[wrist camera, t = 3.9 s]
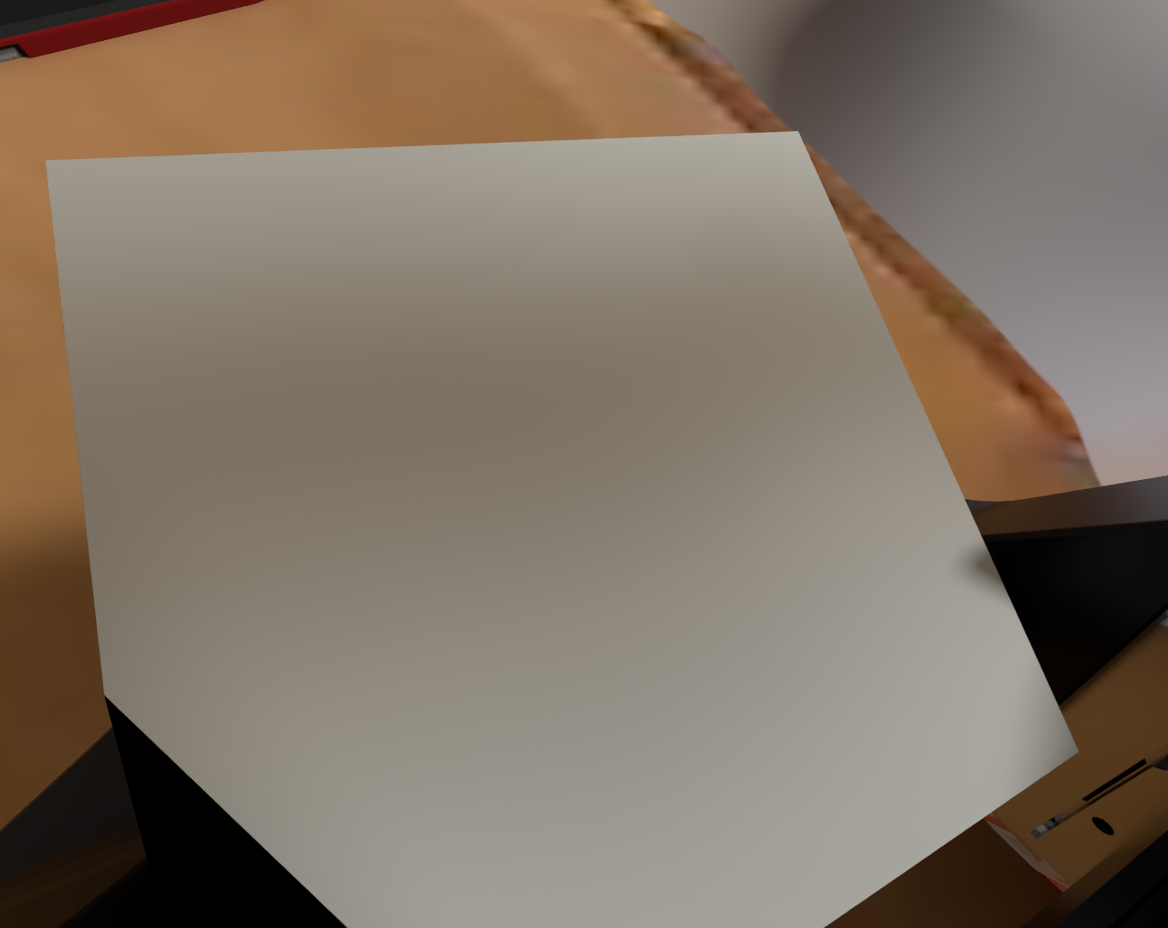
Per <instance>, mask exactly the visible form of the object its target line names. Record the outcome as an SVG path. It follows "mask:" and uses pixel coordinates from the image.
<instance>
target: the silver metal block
mask: <svg viewBox="0 0 1168 928" xmlns="http://www.w3.org/2000/svg"><path fill="white" fill-rule="evenodd" d="M46 167H47V176H48V186H49V195H50V204H51V213H52V222H53V231H54V240H55V249H56V259H57V268H58V277H59V286H60V295H61V304H62V313H63V322H64V331H65V341H66V350H67V359H68V368H69V377H70V386H71V395H72V404H73V414H74V423H75V432H76V441H77V450H78V459H79V468H80V477H81V487H82V496H83V505H84V514H85V523H86V532H87V541H88V550H89V560H90V569H91V578H92V587H93V596H94V605H95V614H96V623H97V633H98V642H99V651H100V660H101V669H102V678H103V687H104V696H105V699H106V703H107V707H108V711H109V715H110V719H111V722H112V726H113V730H114V734H115V738H116V742H117V746H118V749H119V753H120V757H121V761H122V765H123V769H124V772H125V776H126V780H127V784H128V788H129V792H130V796H131V799H132V803H133V807H134V811H135V815H136V819H137V822H138V826H139V830H140V834H141V838H142V842H143V846H144V849H145V853H146V857H147V861H148V865H149V869H150V872H151V876H152V880H153V884H154V888H155V892H156V896H157V899H158V903H159V907H160V911H161V915H162V919H163V922H164V926H165V928H824V927H826V926H827V925H828V924H830V923H831V922H833V921H834V920H836V919H837V918H839V917H840V916H842V915H843V914H844V913H846V912H847V911H849V910H850V909H852V908H853V907H855V906H856V905H857V904H859V903H860V902H862V901H863V900H865V899H866V898H868V897H869V896H871V895H872V894H873V893H875V892H876V891H878V890H879V889H881V888H882V887H884V886H885V885H887V884H888V883H889V882H891V881H892V880H894V879H895V878H897V877H898V876H900V875H901V874H902V873H904V872H905V871H907V870H908V869H910V868H911V867H913V866H914V865H916V864H917V863H918V862H920V861H921V860H923V859H924V858H926V857H927V856H929V855H930V854H931V853H933V852H934V851H936V850H937V849H939V848H940V847H942V846H943V845H945V844H946V843H947V842H949V841H950V840H952V839H953V838H955V837H956V836H958V835H959V834H960V833H962V832H963V831H965V830H966V829H968V828H969V827H971V826H972V825H974V824H975V823H976V822H978V821H979V820H981V819H982V818H984V817H985V816H987V815H988V814H989V813H991V812H992V811H994V810H995V809H997V808H998V807H1000V806H1001V805H1003V804H1004V803H1005V802H1007V801H1008V800H1010V799H1011V798H1013V797H1014V796H1016V795H1017V794H1019V793H1020V792H1021V791H1023V790H1024V789H1026V788H1027V787H1029V786H1030V785H1032V784H1033V783H1034V782H1036V781H1037V780H1039V779H1040V778H1042V777H1043V776H1045V775H1046V774H1048V773H1049V772H1050V771H1052V770H1053V769H1055V768H1056V767H1058V766H1059V765H1061V764H1062V763H1063V762H1065V761H1066V760H1068V759H1069V758H1071V757H1072V756H1074V755H1075V754H1077V753H1078V752H1079V751H1078V748H1077V746H1076V744H1075V742H1074V739H1073V737H1072V735H1071V733H1070V731H1069V728H1068V726H1067V724H1066V722H1065V720H1064V717H1063V715H1062V713H1061V711H1060V709H1059V706H1058V704H1057V702H1056V700H1055V698H1054V695H1053V693H1052V691H1051V689H1050V687H1049V684H1048V682H1047V680H1046V678H1045V675H1044V673H1043V671H1042V669H1041V667H1040V664H1039V662H1038V660H1037V658H1036V656H1035V653H1034V651H1033V649H1032V647H1031V645H1030V642H1029V640H1028V638H1027V636H1026V634H1025V631H1024V629H1023V627H1022V625H1021V622H1020V620H1019V618H1018V616H1017V614H1016V611H1015V609H1014V607H1013V605H1012V603H1011V600H1010V598H1009V596H1008V594H1007V592H1006V589H1005V587H1004V585H1003V583H1002V581H1001V578H1000V576H999V574H998V572H997V570H996V567H995V565H994V563H993V561H992V558H991V556H990V554H989V552H988V550H987V547H986V545H985V543H984V541H983V539H982V536H981V534H980V532H979V530H978V528H977V525H976V523H975V521H974V519H973V517H972V514H971V512H970V510H969V508H968V506H967V503H966V501H965V499H964V497H963V494H962V492H961V490H960V488H959V486H958V483H957V481H956V479H955V477H954V475H953V472H952V470H951V468H950V466H949V464H948V461H947V459H946V457H945V455H944V453H943V450H942V448H941V446H940V444H939V441H938V439H937V437H936V435H935V433H934V430H933V428H932V426H931V424H930V422H929V419H928V417H927V415H926V413H925V411H924V408H923V406H922V404H921V402H920V400H919V397H918V395H917V393H916V391H915V389H914V386H913V384H912V382H911V380H910V377H909V375H908V373H907V371H906V369H905V366H904V364H903V362H902V360H901V358H900V355H899V353H898V351H897V349H896V347H895V344H894V342H893V340H892V338H891V336H890V333H889V331H888V329H887V327H886V325H885V322H884V320H883V318H882V316H881V313H880V311H879V309H878V307H877V305H876V302H875V300H874V298H873V296H872V294H871V291H870V289H869V287H868V285H867V283H866V280H865V278H864V276H863V274H862V272H861V269H860V267H859V265H858V263H857V260H856V258H855V256H854V254H853V252H852V249H851V247H850V245H849V243H848V241H847V238H846V236H845V234H844V232H843V230H842V227H841V225H840V223H839V221H838V219H837V216H836V214H835V212H834V210H833V208H832V205H831V203H830V201H829V199H828V196H827V194H826V192H825V190H824V188H823V185H822V183H821V181H820V179H819V177H818V174H817V172H816V170H815V168H814V166H813V163H812V161H811V159H810V157H809V155H808V152H807V150H806V148H805V146H804V144H803V141H802V139H801V137H800V135H799V133H798V131H795V132H769V133H743V134H718V135H692V136H666V137H640V138H614V139H588V140H562V141H537V142H511V143H485V144H459V145H433V146H407V147H381V148H356V149H330V150H304V151H278V152H252V153H226V154H200V155H175V156H149V157H123V158H97V159H71V160H46Z"/></svg>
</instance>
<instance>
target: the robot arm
mask: <svg viewBox="0 0 1168 928" xmlns="http://www.w3.org/2000/svg"><path fill="white" fill-rule="evenodd" d="M965 501H966V503H967V506H968V508H969V510H970V512H971V514H972V517H973V519H974V521H975V523H976V525H977V528H978V530H979V532H980V534H981V536H982V539H983V541H984V543H985V545H986V547H987V550H988V552H989V554H990V556H991V558H992V561H993V563H994V565H995V567H996V570H997V572H998V574H999V576H1000V578H1001V581H1002V583H1003V585H1004V587H1005V589H1006V592H1007V594H1008V596H1009V598H1010V600H1011V603H1012V605H1013V607H1014V609H1015V611H1016V614H1017V616H1018V618H1019V620H1020V622H1021V625H1022V627H1023V629H1024V631H1025V634H1026V636H1027V638H1028V640H1029V642H1030V645H1031V647H1032V649H1033V651H1034V653H1035V656H1036V658H1037V660H1038V662H1039V664H1040V667H1041V669H1042V671H1043V673H1044V675H1045V678H1046V680H1047V682H1048V684H1049V687H1050V689H1051V691H1052V693H1053V695H1054V698H1055V700H1056V702H1057V704H1058V706H1059V709H1060V711H1061V713H1062V715H1063V717H1064V720H1065V722H1066V724H1067V726H1068V728H1069V731H1070V733H1071V735H1072V737H1073V739H1074V742H1075V744H1076V746H1077V748H1078V751H1079V752H1078V753H1077V754H1075V755H1074V756H1072V757H1071V758H1069V759H1068V760H1066V761H1065V762H1063V763H1062V764H1061V765H1059V766H1058V767H1056V768H1055V769H1053V770H1052V771H1050V772H1049V773H1048V774H1046V775H1045V776H1043V777H1042V778H1040V779H1039V780H1037V781H1036V782H1034V783H1033V784H1032V785H1030V786H1029V787H1027V788H1026V789H1024V790H1023V791H1021V792H1020V793H1019V794H1017V795H1016V796H1014V797H1013V798H1011V799H1010V800H1008V801H1007V802H1005V803H1004V804H1003V805H1001V806H1000V807H998V808H997V809H995V810H994V811H992V813H993V814H994V815H995V816H996V817H997V819H998V820H999V821H1000V822H1001V823H1002V824H1003V825H1004V826H1005V827H1006V828H1007V829H1008V830H1009V831H1010V832H1011V833H1012V834H1013V835H1014V836H1015V837H1016V838H1017V839H1018V840H1019V841H1020V842H1021V843H1022V844H1023V845H1024V846H1025V847H1026V848H1027V849H1028V851H1029V852H1030V853H1031V854H1032V855H1033V856H1034V857H1035V858H1036V859H1037V860H1038V861H1039V862H1040V861H1042V860H1045V861H1046V862H1047V863H1048V864H1049V865H1050V866H1051V867H1052V868H1053V869H1054V870H1055V871H1056V872H1057V873H1058V874H1059V875H1060V876H1061V877H1062V878H1063V879H1064V880H1065V881H1066V882H1067V883H1068V884H1069V885H1070V886H1071V887H1069V888H1068V889H1067V890H1066V891H1065V892H1063V893H1062V894H1061V895H1060V896H1059V897H1057V898H1056V899H1055V900H1054V901H1053V902H1051V903H1050V904H1049V905H1048V906H1047V907H1045V908H1044V909H1043V910H1042V911H1040V912H1039V913H1038V914H1037V915H1036V916H1034V917H1033V918H1032V919H1031V920H1030V921H1028V922H1027V923H1026V924H1025V925H1024V926H1022V927H1021V928H1168V476H1162V477H1156V478H1150V479H1144V480H1138V481H1132V482H1126V483H1119V484H1113V485H1107V486H1101V487H1095V488H1089V489H1083V490H1077V491H1071V492H1065V493H1059V494H1053V495H1047V496H1041V497H1035V498H1029V499H1023V500H1015V501H1001V502H995V501H976V500H967V499H965ZM0 928H165V926H164V922H163V919H162V915H161V911H160V907H159V903H158V899H157V896H156V892H155V888H154V884H153V880H152V876H151V872H150V869H149V865H148V861H147V857H146V853H145V849H144V846H143V842H142V838H141V834H140V830H139V826H138V822H137V819H136V815H135V811H134V807H133V803H132V799H131V796H130V792H129V788H128V784H127V780H126V776H125V772H124V769H123V765H122V761H121V757H120V753H119V749H118V746H117V742H116V738H115V734H114V730H113V726H112V727H111V728H110V729H109V730H108V731H107V732H106V733H105V734H104V735H103V736H102V737H101V738H100V739H99V740H98V741H97V742H96V743H94V744H93V745H92V746H91V747H90V748H89V749H88V750H87V751H86V752H85V753H84V754H83V755H82V756H81V757H80V758H78V759H77V760H76V761H75V762H74V763H73V764H72V765H71V766H70V767H69V768H68V769H66V770H65V771H64V772H63V773H62V774H61V775H60V776H59V777H58V778H57V779H56V780H55V781H53V782H52V783H51V784H50V785H49V786H48V787H47V788H46V789H45V790H44V791H43V792H41V793H40V794H39V795H38V796H37V797H36V798H35V799H34V800H33V801H32V802H31V803H30V804H28V805H27V806H26V807H25V808H24V809H23V810H22V811H21V812H20V813H19V814H18V815H16V816H15V817H14V818H13V819H12V820H11V821H10V822H9V823H8V824H7V825H6V826H5V827H3V828H2V829H1V830H0Z"/></svg>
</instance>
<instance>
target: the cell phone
mask: <svg viewBox="0 0 1168 928" xmlns="http://www.w3.org/2000/svg"><path fill="white" fill-rule="evenodd" d="M261 1H264V0H0V62H4V61H8V60H12V59H17V58H21V57H25V56H29V57H30V58H34V57H38V56H42V55H46V54H50V53H54V52H59V51H63V50H67V49H71V48H75V47H79V46H83V45H87V44H91V43H96V42H100V41H104V40H108V39H112V38H116V37H120V36H124V35H128V34H133V33H137V32H141V31H145V30H149V29H153V28H157V27H161V26H165V25H170V24H174V23H178V22H182V21H186V20H190V19H194V18H198V17H202V16H206V15H211V14H215V13H219V12H223V11H227V10H231V9H235V8H239V7H243V6H248V5H252V4H256V3H259V2H261Z"/></svg>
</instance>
